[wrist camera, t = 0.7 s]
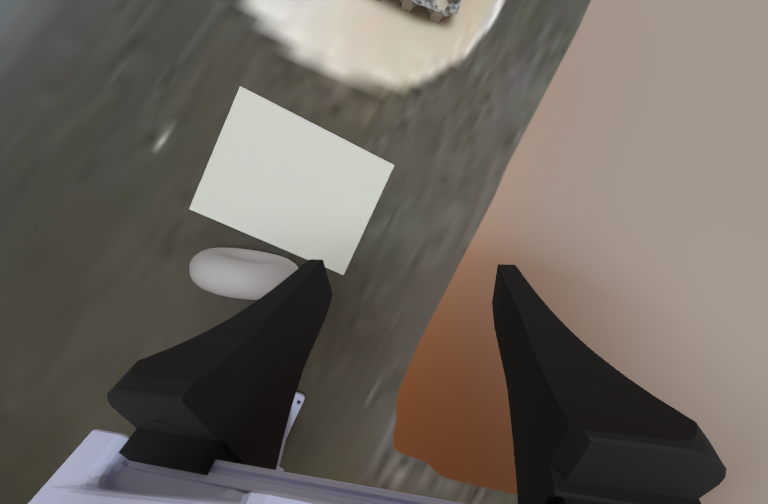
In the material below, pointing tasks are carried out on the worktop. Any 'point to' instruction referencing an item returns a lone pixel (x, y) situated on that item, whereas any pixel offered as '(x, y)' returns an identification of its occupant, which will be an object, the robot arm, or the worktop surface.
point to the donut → (239, 272)
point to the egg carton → (432, 8)
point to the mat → (290, 182)
